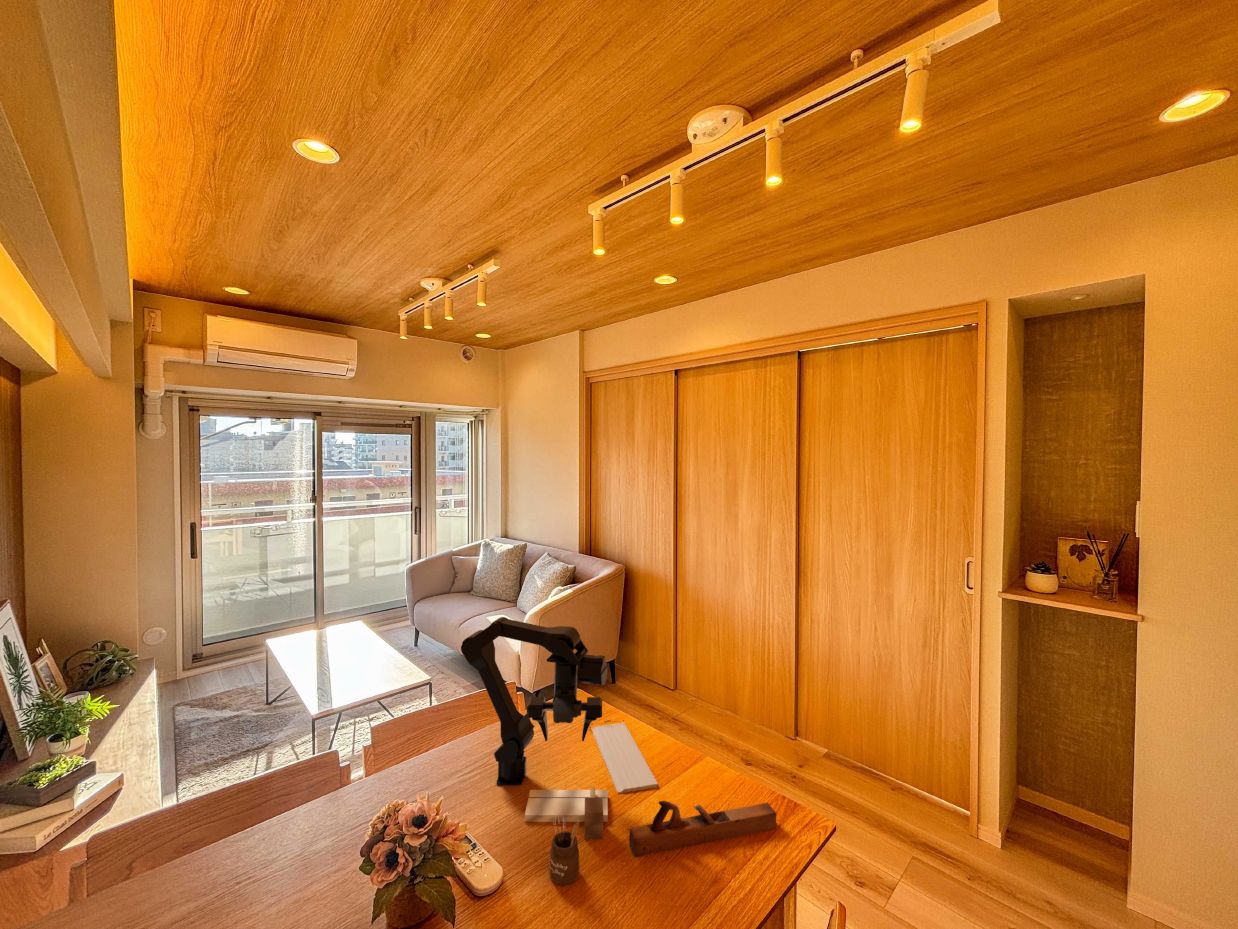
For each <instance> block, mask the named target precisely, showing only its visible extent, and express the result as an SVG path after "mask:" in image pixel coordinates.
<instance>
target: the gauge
mask: <svg viewBox="0 0 1238 929" xmlns="http://www.w3.org/2000/svg"><path fill="white" fill-rule="evenodd" d="M589 790H590V798H585V820H584V822H583V823H584V840H586V841H587V840H604V839H603V837H604V822H603V800H602V797H596V798H595V790H596V787H595V786H593V787H592V786H591V787H589Z"/></svg>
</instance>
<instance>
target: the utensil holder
mask: <svg viewBox="0 0 1238 929" xmlns="http://www.w3.org/2000/svg"><path fill="white" fill-rule="evenodd" d="M556 816H558V820H559V814H558V815H556ZM562 817H563V816H562ZM555 818H557V817H555ZM563 818H564V817H563ZM561 819H562V818H561ZM564 820H565V819H564ZM562 821H563V820H562ZM552 823H553V824H556V823H557V822H556V820H555V822H554V821H553V822H552ZM558 823H561V822H560V820H559V822H558ZM562 824H565V822H564V821H563V822H562ZM562 826H563V831H561V828H559V829H557V827H554V830H553V831H554V832H556V833H555V834H554V836H553V838H552V841H551V848H550V851H549V876H550V879H551V881H553V882H554V883H555V884H556V885H560V886H566V885H569V884H572V883H573V882H574V881H575V880H576V879H578V878H577V877H578V876H579V872H580V871H579V870H580V850H579V846H578V845H579V844H578V843H579V842H578V837H577V834H578V832H579V831H578V830H579V827H580V822H579V821H578V822H575V824H573V826H572V831H567V830H565V829H566V826H565V825H562ZM558 830H559V832H558Z"/></svg>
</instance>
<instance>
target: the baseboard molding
mask: <svg viewBox="0 0 1238 929" xmlns="http://www.w3.org/2000/svg"><path fill="white" fill-rule="evenodd" d="M622 721H623V722H622V723H621V722H619V723H617V722H618V720H617V721H614V723H613V724H607V723H612V721H611V719H610V720H605V725H599V724H601V723H600V722H599V723H597V724H598V725H596V726H595V727H594V728H592V727H591V726H592V725H594V723H593V722H591V725H589V727H588V729H589V731H591V732H593V733H592V735H593V737H594V739H596V740H595V742H596V745H597V744H598V745H597V747H598V749H599V751H600V755H601V757H602V756H603V757H602V758H603V762H604V764H605V766H606V768H608V769H607V771H608V774H609V775H611V776H610V778H611V780H612V783H613V785H614V787H615V789H616V793H617V794H618V793H619V794H624V793H623V792H625V793H631V792H630V791H632V792H637V791H636V790H638V791H643V790H648V788H650V789H655V788H658V787H659V786H658V785H659V783H658V782H657V779H656V777H655V776H654V774H653V772H652V770H651V769H650V767H649V765H648V763H647V761H646V760H645V757H644V755H643V754H642V752H641V750H640V748H639V746H638V745H637V743H636V741H635V740H634V738H633V736H632V734H631V733H630V730H629V728H628V727H627V726H626V723H625V722H624V721H625V719H623V720H622ZM615 722H616V723H615Z"/></svg>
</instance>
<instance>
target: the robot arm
mask: <svg viewBox="0 0 1238 929" xmlns="http://www.w3.org/2000/svg"><path fill="white" fill-rule="evenodd" d="M498 637H500V638H501V637H502V638H506V639H509V640H516V641H519V642H524V643H528V644H533V645H536V646H537V645H538V646H540V647H543V648H544V649H545V650H546V651H547V652H549V653H551V654H550V656H548V657H547V658H546V662H547V663H554V679H553V680H554V685H553V687H554V688H553V698H552V702H551V701H550V702H546V697H545V696H531V697H530V698H529V700H528V703H527V706H526V713H525V714H522V713H521V712H520V711H518V709H517V707H516V705H515V702H514V700H513V698H512V696H511V693H510V691H509V689H508V686H507V684H506V682H505V679H504V677H503V675H502V673H501V671H500V669H499V668H500V667H498V664H497V661H496V647H495V643H494V641H495V640H496V639H498ZM460 651H461V653H462V656H463V657H464V659H465V660H466V661H467V663H468V664H469V665H470V666H471V667H472V668H474V669H475V670H476V671H477V672H478V674H479V676H480V679H481V681H482V684H483V686H484V688H485V690H486V692H487V694H488V697H489V700H490V701H491V704H492V707H493V708H494V710H495V713H496V715H497V718H498V719H499V720H498V721H499V723H500V740H501V743H502V744H500V746H498V748H497V749H496V750H495V751H494V752H493V755H494V759H495V762H496V763H497V762H498V764H497V766H498V767H497V768H498V769H497V779H496V785H503V786H504V785H506V786H507V785H511V786H513V785H522V784H523V781H524V779H525V777H526V774H527V756H525V749H526V748H527V747H528V746H529V744H530V743H531V742H532V741H533V738H534V737H535V736H534V735H535V732H534V728H535V725H534V724H533V723H532V721H536V722H537V723H538V725H539V727H540V729H541V732H542V735H543V738H544V742H548V734H549V732H548V718H547V716H548V715H547V712H548V711H549V712H552V714H553V715H552V716H553V717H552V718H553V719H552V720H553V723H554V724H561V723H566V724H571V723H573V722H574V718H575V719H576V718H578V717H581V716H582V712H584V719H583V726H582V732H581V733H582V734H581V741H582V742H584V741H585V738H586V736H587V732H588V731H589V728H590V726H591V725H592V723H593V722H595V721H597V719H600V718H603V699H602V698H601V696H593V697H592V696H590V697H589V696H587V697H586V702H583V701H582V700H579V699H578V682H580V683H582V684H583V683H584V684H591V685H597V686H605V685H606V681H607V679H608V678H607V676H608V668H609V667H608V665H607V661H606V656H605V655H594V654H588V653H589V649H588V648H587V647H586V645H585V643H584V641H582V639H581V635H580V632H579V631H578V629H577V628H576V627H574V626H567V625H566V626H565V625H564V626H562V625H561V626H559V625H558V626H552V627H550V626H549V627H547V626H543V625H542V626H541V625H538V624H534V623H533V624H532V623H528V622H523V621H519V620H514V619H509V618H507V617H505V616H501V617H498V618H497V619H496V620H494V621H492V622H491V623H490V624H489V626H487V627H486V628H484V629H480V630H477V631H475V632H473V633H472V634H471V635H469V636H467V637H466V638H464V640H462V642H461V645H460ZM574 651H576V652H574ZM531 719H532V721H531ZM588 727H589V728H588Z"/></svg>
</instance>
